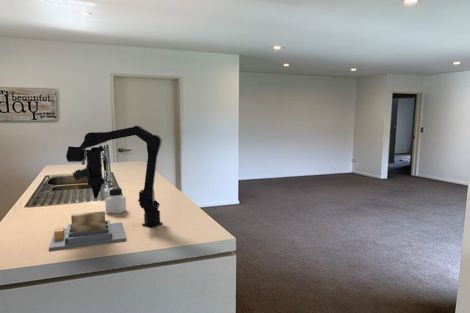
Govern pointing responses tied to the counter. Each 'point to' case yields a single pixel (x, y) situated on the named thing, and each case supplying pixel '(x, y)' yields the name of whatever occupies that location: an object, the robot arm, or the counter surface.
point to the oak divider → (88, 221)
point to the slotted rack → (87, 236)
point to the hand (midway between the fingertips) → (95, 197)
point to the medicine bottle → (115, 201)
